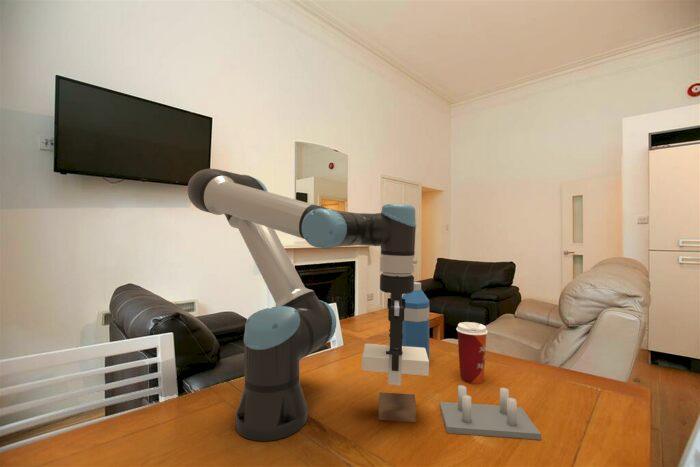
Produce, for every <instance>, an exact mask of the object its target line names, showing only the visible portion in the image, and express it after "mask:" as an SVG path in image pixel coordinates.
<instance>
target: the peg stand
mask: <svg viewBox="0 0 700 467" xmlns="http://www.w3.org/2000/svg"><path fill="white" fill-rule="evenodd" d="M517 404H518V403H517V399H516V398H514V397H510V390H509V389H508V388H506V387H499V405H495V404H481V403H472V396H470V395H468V394H467V386H465V385H463V384H460V385H457V402H450V401H448V402H447V401H439V409H440V412H441V413H440V414H441V415H442V416H441V417H442V420H443V423H444V427H445V431H446V433H447V434H457V435H468V436H469V435H470V436H471V435H472V436H481V437H482V436H485V437H486V436H487V437H497V438H511V439H523V440H524V439H525V440H535V441H536V440H537V441H538V440H539V441H541V440H542V433H541V431H540V430H539V429H538V428H537V427H536V425H535V424H534V422H533V421H532V420H531V418H530V417H529V415H528V414H527V413H526V411H525V410H524V409H523V407H522V406H517Z"/></svg>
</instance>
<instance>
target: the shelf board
mask: <svg viewBox="0 0 700 467" xmlns="http://www.w3.org/2000/svg"><path fill="white" fill-rule="evenodd" d="M389 350H390V345H389V344H378V343H377V344H376V343H364V348H363V351H362V356H361V358H362V360H361V371H367V372H377V373H378V372H379V373H388V365H389V355H387V354H386V351H389ZM402 351H403V354H402V367H401V375H412V376H415V375H416V376H426V377H427V376H428V377H429V374H430V359H429V360H428V356H427V353H426V349H425V348H421V347H407V346H402Z"/></svg>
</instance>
